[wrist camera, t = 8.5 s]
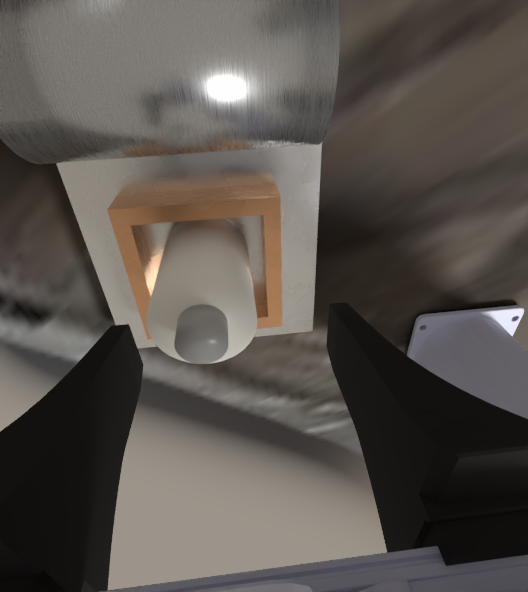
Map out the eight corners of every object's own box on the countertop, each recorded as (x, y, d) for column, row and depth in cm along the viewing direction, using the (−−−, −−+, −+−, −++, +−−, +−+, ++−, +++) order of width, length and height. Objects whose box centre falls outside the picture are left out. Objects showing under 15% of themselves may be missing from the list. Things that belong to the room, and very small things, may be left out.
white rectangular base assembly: (306, 312, 25) (334, 401, 19) (131, 328, 24) (101, 427, 18) (318, -39, 14) (391, -97, 8) (10, -27, 14) (-159, -81, 8)
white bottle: (247, 286, 21) (258, 381, 15) (170, 288, 20) (149, 387, 14) (248, 214, 18) (261, 294, 12) (159, 215, 18) (130, 298, 12)
